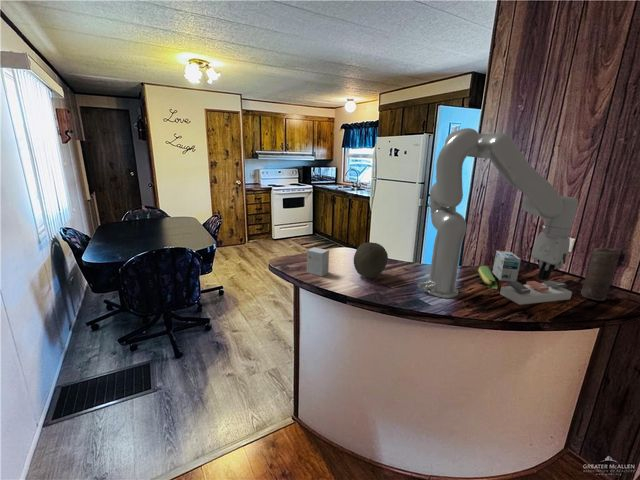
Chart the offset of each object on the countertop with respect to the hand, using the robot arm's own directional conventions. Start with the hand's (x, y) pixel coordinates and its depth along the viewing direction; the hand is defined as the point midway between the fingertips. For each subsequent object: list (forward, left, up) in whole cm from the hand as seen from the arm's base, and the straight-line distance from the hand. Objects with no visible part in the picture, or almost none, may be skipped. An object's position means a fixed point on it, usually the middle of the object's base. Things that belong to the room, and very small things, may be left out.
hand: (542, 278), depth 114 cm
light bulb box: (+5, +21, -9) cm, 23 cm away
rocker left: (-8, +2, -4) cm, 9 cm away
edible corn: (-7, +18, -9) cm, 21 cm away
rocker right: (+9, +2, -4) cm, 10 cm away
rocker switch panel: (+1, +2, -8) cm, 8 cm away
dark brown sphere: (-55, +32, -8) cm, 64 cm away
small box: (-76, +40, -8) cm, 87 cm away
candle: (+22, -4, -8) cm, 24 cm away
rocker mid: (+1, +2, -4) cm, 4 cm away
